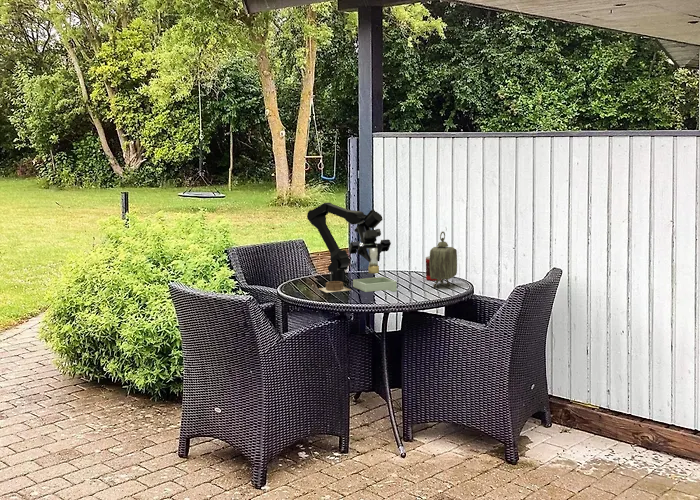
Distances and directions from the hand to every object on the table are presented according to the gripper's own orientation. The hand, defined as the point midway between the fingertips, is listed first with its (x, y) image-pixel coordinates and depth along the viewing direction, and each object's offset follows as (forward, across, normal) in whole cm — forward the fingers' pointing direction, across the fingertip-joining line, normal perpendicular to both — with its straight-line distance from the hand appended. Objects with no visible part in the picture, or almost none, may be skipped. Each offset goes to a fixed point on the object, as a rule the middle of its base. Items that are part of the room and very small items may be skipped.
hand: (374, 261), depth 347 cm
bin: (+9, 0, +10) cm, 14 cm away
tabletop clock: (+12, +33, +8) cm, 35 cm away
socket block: (+5, -17, +14) cm, 23 cm away
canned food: (-1, +36, +21) cm, 41 cm away
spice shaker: (+3, 0, +5) cm, 6 cm away
